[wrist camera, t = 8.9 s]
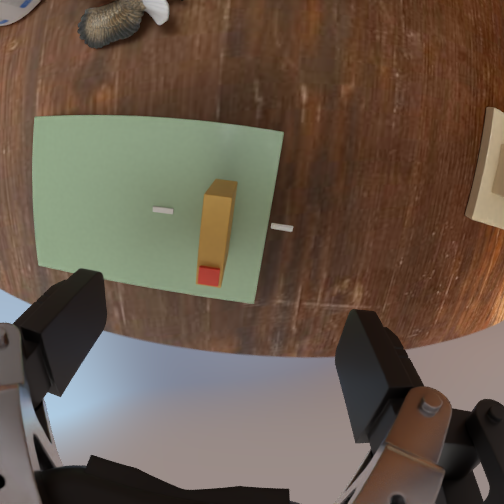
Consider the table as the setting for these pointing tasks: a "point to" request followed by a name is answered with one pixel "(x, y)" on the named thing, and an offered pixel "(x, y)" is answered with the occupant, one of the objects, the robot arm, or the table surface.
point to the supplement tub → (15, 10)
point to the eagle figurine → (119, 20)
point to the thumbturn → (215, 232)
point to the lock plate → (150, 198)
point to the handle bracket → (489, 174)
